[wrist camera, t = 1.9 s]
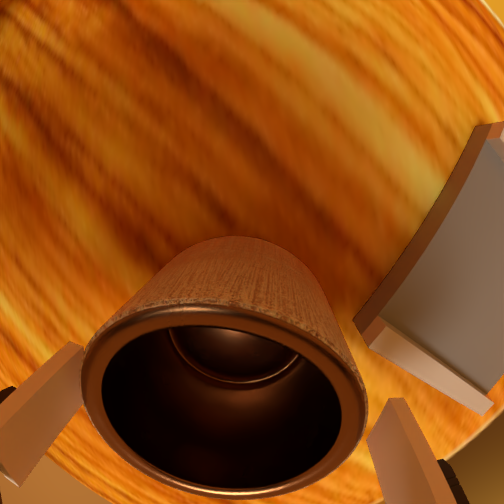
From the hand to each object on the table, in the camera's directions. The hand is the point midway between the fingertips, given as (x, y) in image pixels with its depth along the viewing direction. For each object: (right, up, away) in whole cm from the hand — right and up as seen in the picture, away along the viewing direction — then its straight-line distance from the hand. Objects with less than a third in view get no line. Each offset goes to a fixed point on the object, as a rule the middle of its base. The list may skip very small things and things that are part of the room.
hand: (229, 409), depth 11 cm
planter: (0, +2, +8) cm, 8 cm away
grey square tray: (+18, +4, +6) cm, 20 cm away
